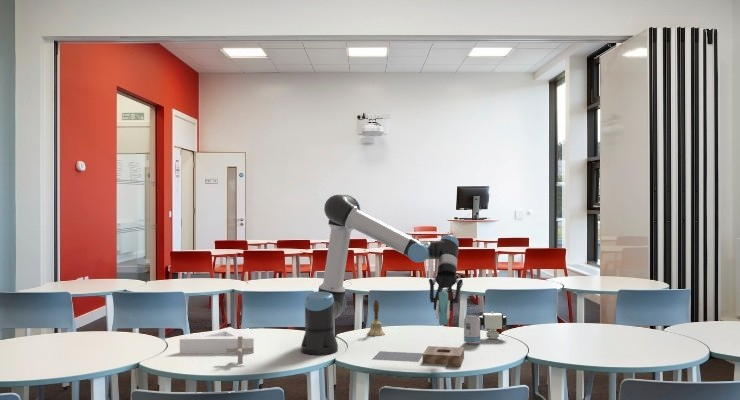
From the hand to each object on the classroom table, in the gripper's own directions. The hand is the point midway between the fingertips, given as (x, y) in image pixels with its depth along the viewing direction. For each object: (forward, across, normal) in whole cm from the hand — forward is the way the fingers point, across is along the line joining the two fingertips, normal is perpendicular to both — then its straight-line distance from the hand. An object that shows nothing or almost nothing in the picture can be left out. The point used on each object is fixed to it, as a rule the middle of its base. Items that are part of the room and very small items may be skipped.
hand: (442, 316), depth 238 cm
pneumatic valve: (-23, -16, -49) cm, 56 cm away
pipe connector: (+23, +75, -2) cm, 79 cm away
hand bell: (-22, +37, -47) cm, 64 cm away
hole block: (+10, 0, -15) cm, 18 cm away
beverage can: (-14, -8, -39) cm, 43 cm away
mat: (+8, +18, -17) cm, 26 cm away
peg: (0, 0, -5) cm, 5 cm away
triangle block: (+5, +95, -21) cm, 97 cm away
